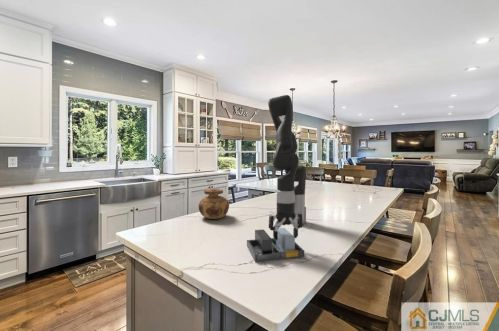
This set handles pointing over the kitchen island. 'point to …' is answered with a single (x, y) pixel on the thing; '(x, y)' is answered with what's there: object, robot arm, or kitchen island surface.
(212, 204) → the clay pot
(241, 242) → the kitchen island surface
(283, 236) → the panel
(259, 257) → the dark grey tray
